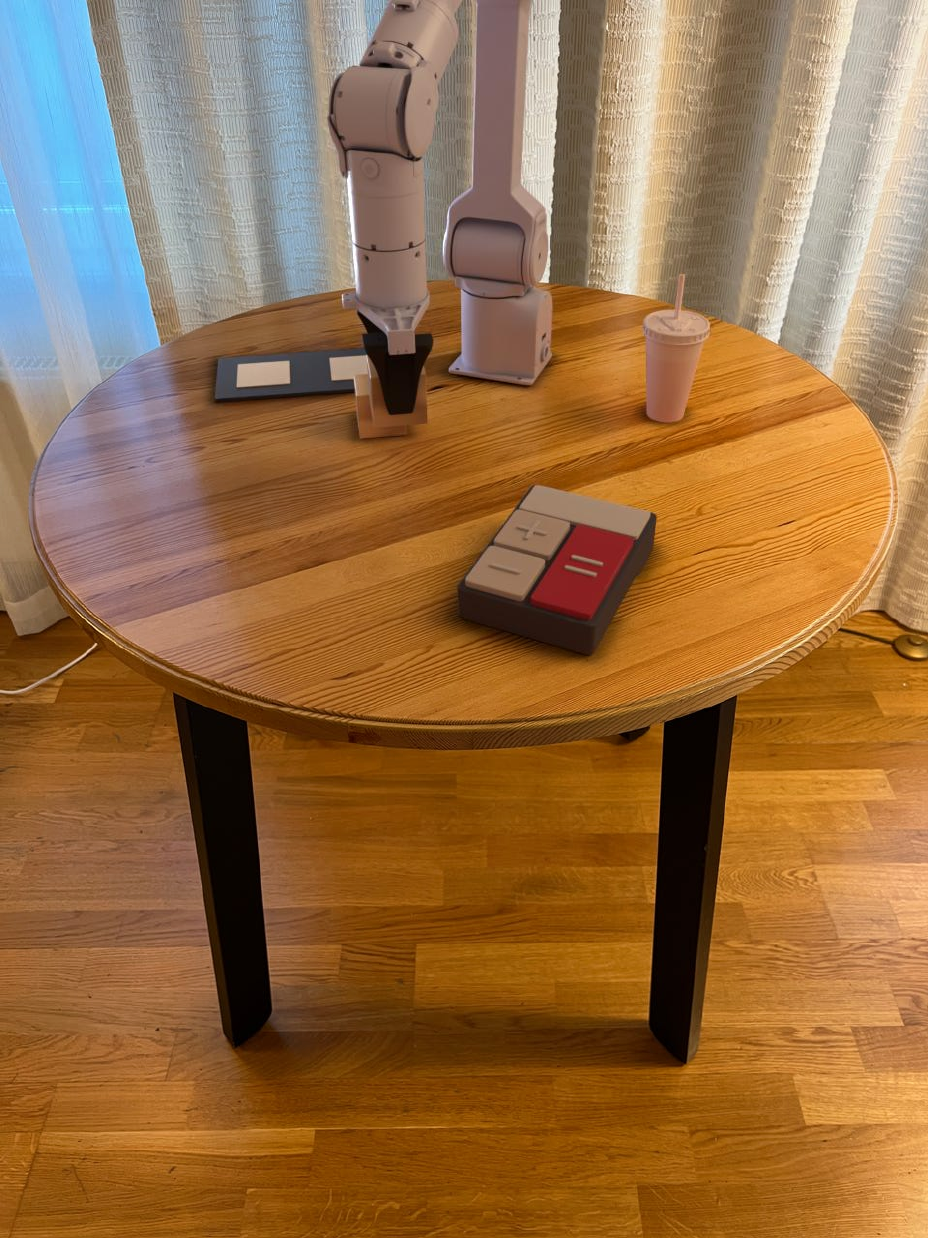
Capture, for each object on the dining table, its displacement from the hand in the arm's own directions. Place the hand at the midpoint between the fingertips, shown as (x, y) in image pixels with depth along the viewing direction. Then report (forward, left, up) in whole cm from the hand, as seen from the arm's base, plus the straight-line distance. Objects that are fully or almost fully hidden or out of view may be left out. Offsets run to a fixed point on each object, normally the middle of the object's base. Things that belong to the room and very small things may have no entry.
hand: (397, 398), depth 88 cm
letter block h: (0, 0, -1) cm, 1 cm away
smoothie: (-20, -21, -8) cm, 30 cm away
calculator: (-18, +10, -8) cm, 22 cm away
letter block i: (+6, -9, -8) cm, 14 cm away
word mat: (+18, -17, -8) cm, 26 cm away
